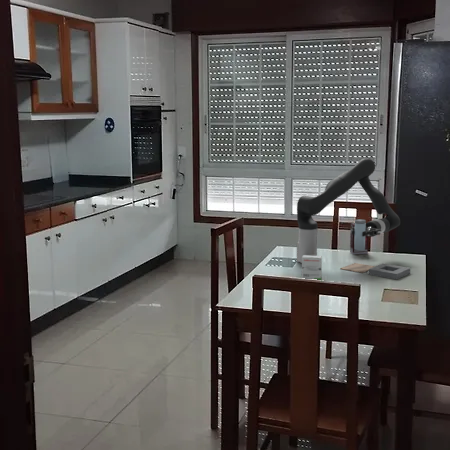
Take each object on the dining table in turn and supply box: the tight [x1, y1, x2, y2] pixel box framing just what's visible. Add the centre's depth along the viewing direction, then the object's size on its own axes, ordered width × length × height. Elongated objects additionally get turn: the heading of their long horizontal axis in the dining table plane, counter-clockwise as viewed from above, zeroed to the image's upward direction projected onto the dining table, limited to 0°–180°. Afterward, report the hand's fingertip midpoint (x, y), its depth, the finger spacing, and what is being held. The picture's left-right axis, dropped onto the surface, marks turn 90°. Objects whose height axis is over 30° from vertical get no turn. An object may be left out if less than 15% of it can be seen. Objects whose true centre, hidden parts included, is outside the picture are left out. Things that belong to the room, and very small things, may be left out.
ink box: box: [301, 255, 323, 281], centre depth 277 cm, size 9×5×12 cm, turn 78°
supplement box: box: [349, 222, 369, 255], centre depth 332 cm, size 9×5×16 cm, turn 98°
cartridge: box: [354, 219, 367, 250], centre depth 298 cm, size 5×5×14 cm
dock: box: [368, 263, 411, 280], centre depth 291 cm, size 14×14×2 cm
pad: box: [339, 262, 375, 274], centre depth 301 cm, size 12×14×1 cm
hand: (357, 233), depth 297 cm, fingers closed on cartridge, 5 cm apart
